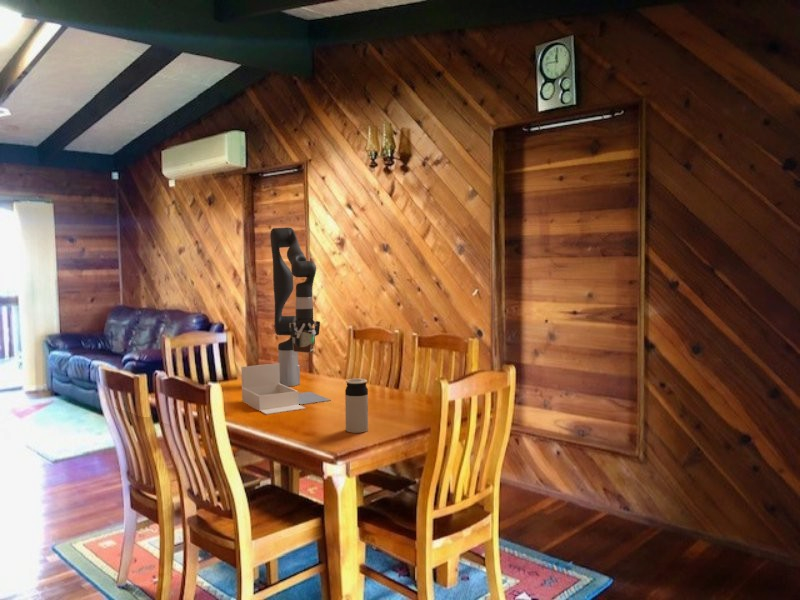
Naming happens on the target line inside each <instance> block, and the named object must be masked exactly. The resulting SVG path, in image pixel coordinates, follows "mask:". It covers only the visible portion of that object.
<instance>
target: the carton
mask: <svg viewBox="0 0 800 600" xmlns="http://www.w3.org/2000/svg"><path fill="white" fill-rule="evenodd" d="M240 372H241V400H242V401H243V402H244V404H245V403H246V404H245V405H247V404H248V406H249V405H250V406H249V407H251V408H253V409H254V410H257V411H258V410H259V412H260V411H261V412H260V413H263V414H264V415H266V416H267V415H273V414H274V413H275V414H281V413H287V411H288V412H295V411H300V410H299V409H301V410H306V409H307V407H305V406H304V405H299V394H298V393H299V390H296V389H294V388H291V387H290V386H284V385H282V384H280V370H279V362H278V363H277V362H276V363H275V362H274V363H268V364H257V365H248V366H241V371H240ZM242 401H241V402H242ZM243 402H242V403H243ZM294 410H295V411H294ZM280 412H281V413H280Z"/></svg>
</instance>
